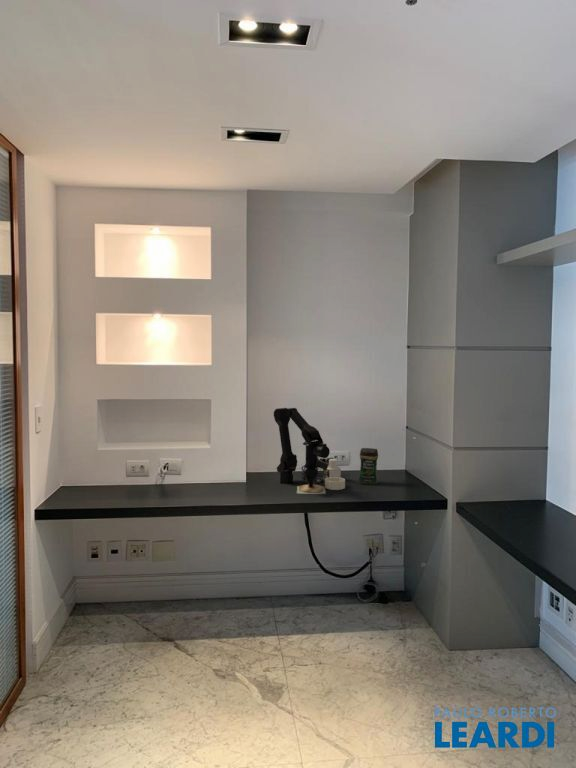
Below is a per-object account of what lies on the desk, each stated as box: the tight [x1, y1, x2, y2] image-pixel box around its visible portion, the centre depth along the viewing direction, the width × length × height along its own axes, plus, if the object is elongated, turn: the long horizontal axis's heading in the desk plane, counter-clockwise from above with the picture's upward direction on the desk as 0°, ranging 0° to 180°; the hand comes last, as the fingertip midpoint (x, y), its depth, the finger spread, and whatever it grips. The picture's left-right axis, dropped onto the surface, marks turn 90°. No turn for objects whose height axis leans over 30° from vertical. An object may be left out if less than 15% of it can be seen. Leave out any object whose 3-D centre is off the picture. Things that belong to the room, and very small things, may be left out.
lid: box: [299, 481, 323, 493], centre depth 287 cm, size 12×12×5 cm
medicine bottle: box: [322, 457, 342, 481], centre depth 308 cm, size 7×7×12 cm
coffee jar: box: [358, 447, 379, 486], centre depth 302 cm, size 10×8×19 cm
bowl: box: [324, 477, 346, 491], centre depth 292 cm, size 10×10×4 cm
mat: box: [296, 485, 327, 495], centre depth 287 cm, size 14×14×1 cm
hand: (311, 485), depth 287 cm, fingers open, 5 cm apart
